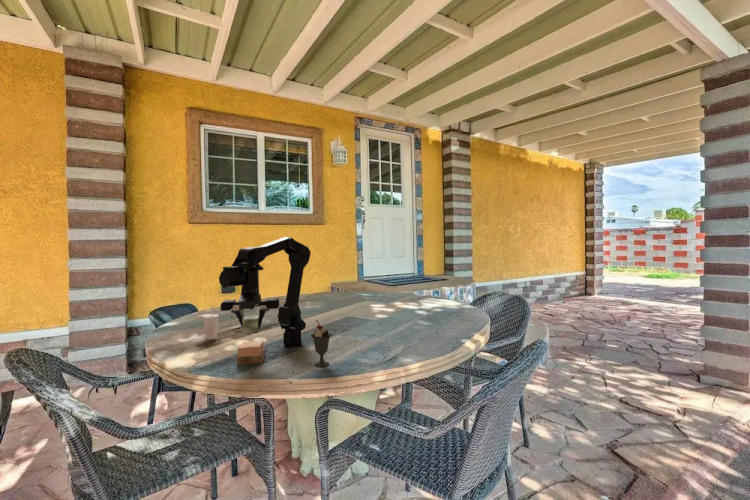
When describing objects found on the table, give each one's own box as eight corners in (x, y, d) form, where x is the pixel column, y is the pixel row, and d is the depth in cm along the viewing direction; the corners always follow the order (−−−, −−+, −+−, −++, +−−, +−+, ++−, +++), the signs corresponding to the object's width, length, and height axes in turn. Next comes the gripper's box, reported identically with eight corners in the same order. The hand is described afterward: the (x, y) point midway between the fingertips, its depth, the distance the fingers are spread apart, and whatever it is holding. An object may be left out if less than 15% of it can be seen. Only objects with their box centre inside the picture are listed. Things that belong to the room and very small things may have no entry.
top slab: (263, 349, 131) (263, 341, 131) (259, 355, 124) (259, 347, 124) (243, 350, 130) (243, 342, 130) (237, 356, 123) (237, 348, 123)
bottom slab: (265, 356, 132) (265, 348, 132) (261, 364, 124) (261, 355, 124) (242, 357, 131) (242, 349, 131) (237, 365, 123) (236, 357, 123)
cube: (260, 329, 130) (259, 315, 130) (257, 333, 125) (257, 318, 125) (245, 330, 129) (245, 316, 129) (242, 334, 124) (242, 319, 124)
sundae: (312, 361, 125) (311, 318, 124) (332, 361, 126) (331, 317, 125) (310, 368, 119) (309, 323, 118) (331, 367, 119) (330, 322, 118)
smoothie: (213, 340, 151) (212, 307, 150) (199, 340, 152) (198, 306, 152) (223, 336, 157) (222, 304, 157) (209, 336, 159) (208, 304, 158)
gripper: (215, 288, 117) (216, 336, 118) (275, 286, 120) (276, 333, 120) (224, 283, 128) (225, 327, 129) (278, 282, 131) (280, 325, 131)
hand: (251, 328), depth 127 cm, fingers closed on cube, 5 cm apart
